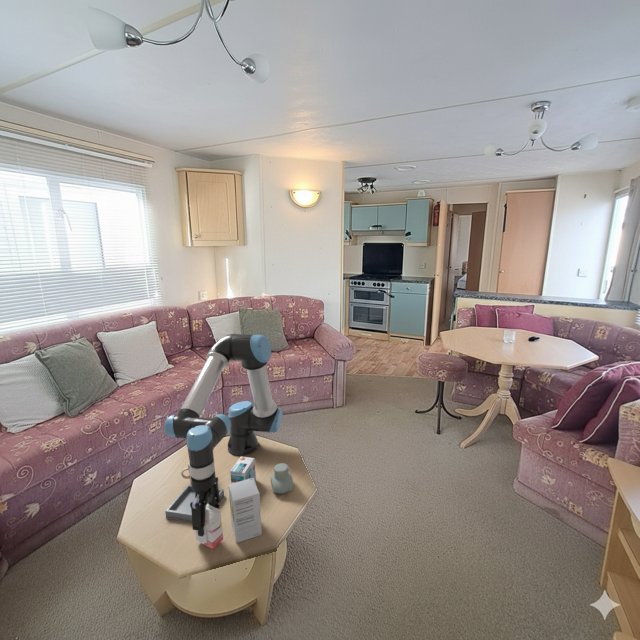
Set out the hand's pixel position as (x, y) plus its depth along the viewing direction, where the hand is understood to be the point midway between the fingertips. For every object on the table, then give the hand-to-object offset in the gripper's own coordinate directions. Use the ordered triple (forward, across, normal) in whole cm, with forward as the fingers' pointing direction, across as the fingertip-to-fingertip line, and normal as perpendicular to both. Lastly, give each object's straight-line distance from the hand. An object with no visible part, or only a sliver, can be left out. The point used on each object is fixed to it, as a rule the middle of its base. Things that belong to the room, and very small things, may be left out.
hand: (208, 533), depth 116 cm
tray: (+4, -15, -14) cm, 21 cm away
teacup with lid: (+4, -29, -22) cm, 36 cm away
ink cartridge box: (+3, 0, 0) cm, 3 cm away
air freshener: (+5, -31, +16) cm, 35 cm away
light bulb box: (+5, -29, 0) cm, 29 cm away
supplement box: (+4, -8, +10) cm, 13 cm away
